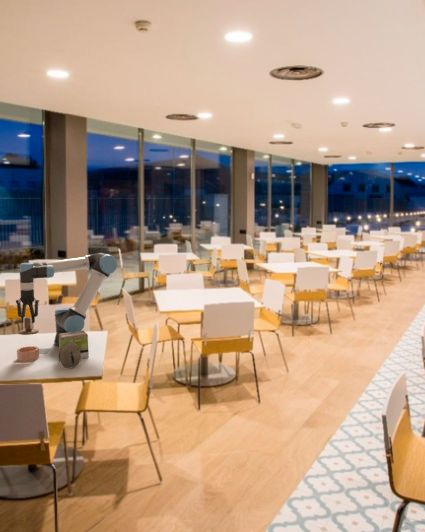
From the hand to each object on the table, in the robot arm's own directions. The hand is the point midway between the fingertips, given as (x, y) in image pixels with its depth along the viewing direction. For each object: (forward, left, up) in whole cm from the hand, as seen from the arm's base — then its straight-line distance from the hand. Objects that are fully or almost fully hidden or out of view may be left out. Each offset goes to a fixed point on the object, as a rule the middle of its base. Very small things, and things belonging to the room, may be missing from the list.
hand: (28, 328), depth 326 cm
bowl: (0, +5, -18) cm, 18 cm away
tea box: (-27, +5, -18) cm, 33 cm away
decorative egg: (-29, +23, -18) cm, 41 cm away
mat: (-3, -8, -18) cm, 20 cm away
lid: (0, 0, -3) cm, 3 cm away
